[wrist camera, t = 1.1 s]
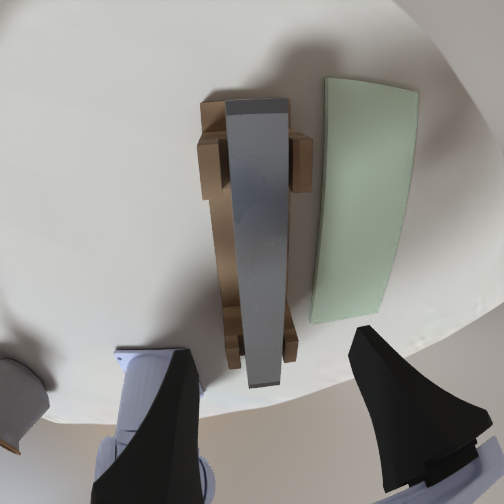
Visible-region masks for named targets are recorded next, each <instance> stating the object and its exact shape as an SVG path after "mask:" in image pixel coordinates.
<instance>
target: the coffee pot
mask: <svg viewBox="0 0 504 504" xmlns="http://www.w3.org/2000/svg"><path fill="white" fill-rule="evenodd" d="M49 407H50V405H49V398H48V395H47V392H46V391H45V389H44V387H43V384H42V382H41V380H40V379H39V378H38V377H37V376H36V375H35V374H34V373H33V372H32V371H30V370H29V369H28V368H26V367H25V366H23V365H22V364H20V363H18V362H16V361H14V360H12V359H4V360H0V446H2V447H3V448H5V449H7V450H9V451H11V452H13V453H15V454H17V455H21V453H20V452H19V440H20V439H21V438H22V437H23V436H24V435H25V434H26V432H28V430H29V429H30V428H31V427H32V426H33V425H34V424H35V423H36V422H37V421H38V420H39V418H40V417H41V416H42V415H43V414H44V413H45V412H46V411H47V410H48V409H49Z"/></svg>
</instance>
